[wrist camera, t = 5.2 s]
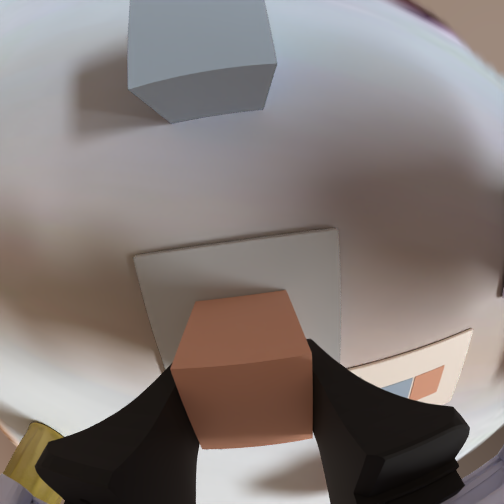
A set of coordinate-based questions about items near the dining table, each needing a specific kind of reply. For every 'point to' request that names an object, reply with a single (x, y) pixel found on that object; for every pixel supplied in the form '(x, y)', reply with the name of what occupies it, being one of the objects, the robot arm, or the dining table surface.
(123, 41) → the dining table surface
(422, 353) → the card
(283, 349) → the brick terracotta
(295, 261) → the plate
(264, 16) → the brick blue
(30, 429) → the vase
